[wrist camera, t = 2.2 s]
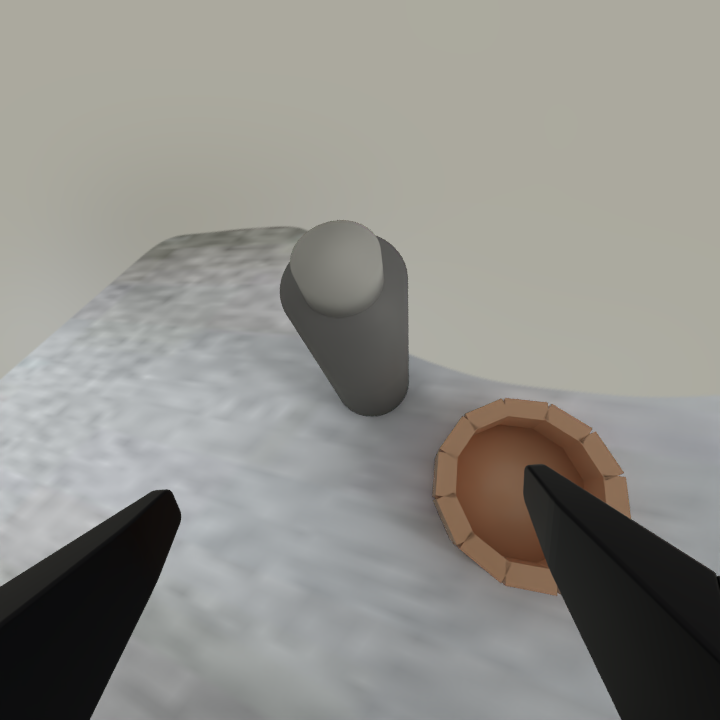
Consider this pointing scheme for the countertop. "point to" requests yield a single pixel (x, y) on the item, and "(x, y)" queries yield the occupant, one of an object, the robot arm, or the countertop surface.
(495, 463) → the terracotta bowl
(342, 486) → the countertop surface
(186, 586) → the countertop surface
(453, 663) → the countertop surface
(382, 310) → the pepper mill
